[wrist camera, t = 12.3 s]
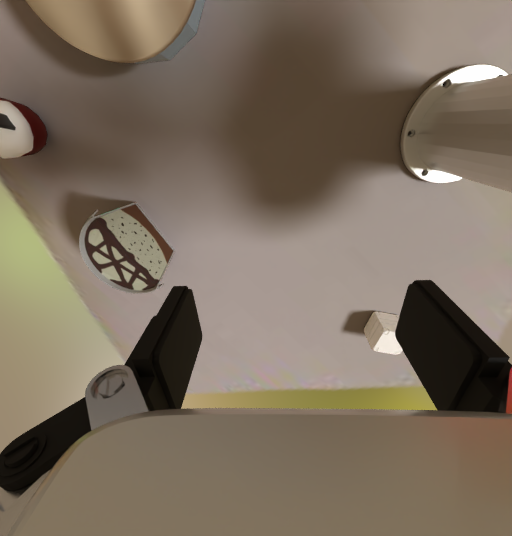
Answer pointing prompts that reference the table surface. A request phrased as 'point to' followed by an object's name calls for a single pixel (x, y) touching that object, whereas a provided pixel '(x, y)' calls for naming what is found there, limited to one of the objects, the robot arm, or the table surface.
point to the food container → (125, 249)
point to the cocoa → (20, 130)
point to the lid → (116, 25)
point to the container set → (383, 333)
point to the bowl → (181, 35)
